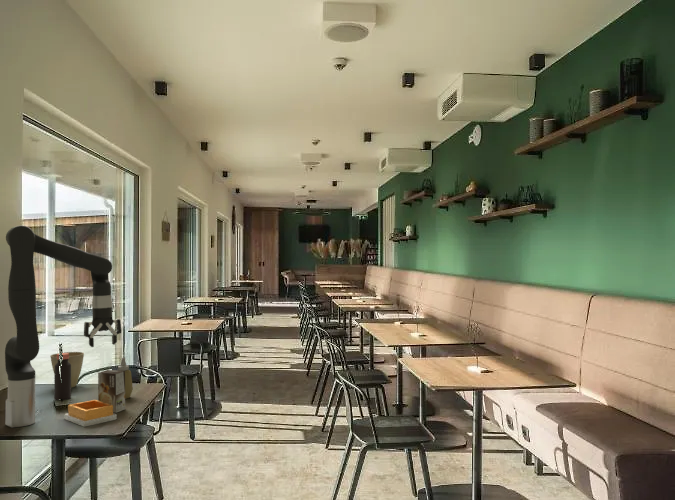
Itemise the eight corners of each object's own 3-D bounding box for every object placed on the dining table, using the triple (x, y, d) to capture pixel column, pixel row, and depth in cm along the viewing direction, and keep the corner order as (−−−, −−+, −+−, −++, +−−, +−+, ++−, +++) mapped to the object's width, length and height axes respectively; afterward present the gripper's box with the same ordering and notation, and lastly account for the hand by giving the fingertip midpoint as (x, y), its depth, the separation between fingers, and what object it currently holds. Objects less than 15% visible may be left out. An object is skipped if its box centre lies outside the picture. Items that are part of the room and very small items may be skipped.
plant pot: (74, 382, 292) (75, 350, 292) (89, 386, 283) (89, 353, 283) (44, 387, 281) (44, 354, 281) (58, 391, 271) (59, 357, 271)
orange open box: (83, 426, 215) (83, 412, 215) (64, 419, 225) (64, 405, 225) (116, 419, 225) (116, 405, 225) (96, 412, 235) (96, 398, 235)
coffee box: (126, 409, 240) (126, 370, 240) (116, 413, 234) (116, 373, 234) (107, 407, 242) (107, 369, 243) (97, 411, 236) (97, 372, 236)
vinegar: (74, 396, 261) (74, 352, 262) (65, 400, 255) (65, 355, 255) (59, 396, 262) (60, 352, 262) (51, 400, 255) (51, 355, 255)
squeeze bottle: (109, 398, 257) (109, 358, 258) (123, 395, 264) (124, 355, 265) (122, 401, 254) (122, 360, 254) (136, 397, 261) (136, 357, 261)
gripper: (86, 308, 229) (87, 349, 229) (122, 305, 238) (123, 344, 238) (81, 307, 235) (82, 346, 235) (117, 304, 244) (118, 342, 244)
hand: (103, 345), depth 237 cm, fingers open, 8 cm apart
